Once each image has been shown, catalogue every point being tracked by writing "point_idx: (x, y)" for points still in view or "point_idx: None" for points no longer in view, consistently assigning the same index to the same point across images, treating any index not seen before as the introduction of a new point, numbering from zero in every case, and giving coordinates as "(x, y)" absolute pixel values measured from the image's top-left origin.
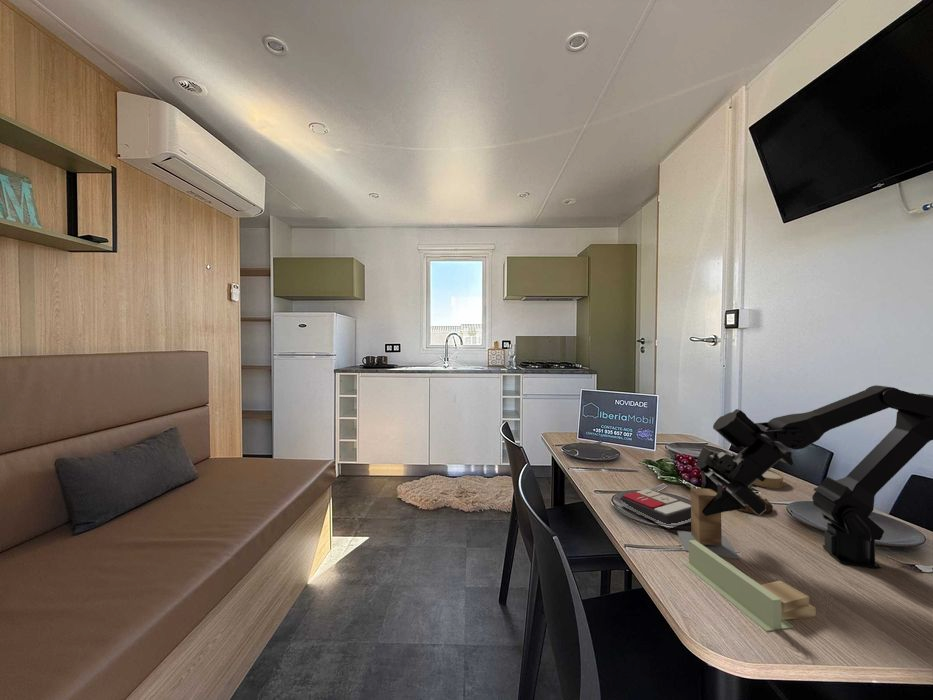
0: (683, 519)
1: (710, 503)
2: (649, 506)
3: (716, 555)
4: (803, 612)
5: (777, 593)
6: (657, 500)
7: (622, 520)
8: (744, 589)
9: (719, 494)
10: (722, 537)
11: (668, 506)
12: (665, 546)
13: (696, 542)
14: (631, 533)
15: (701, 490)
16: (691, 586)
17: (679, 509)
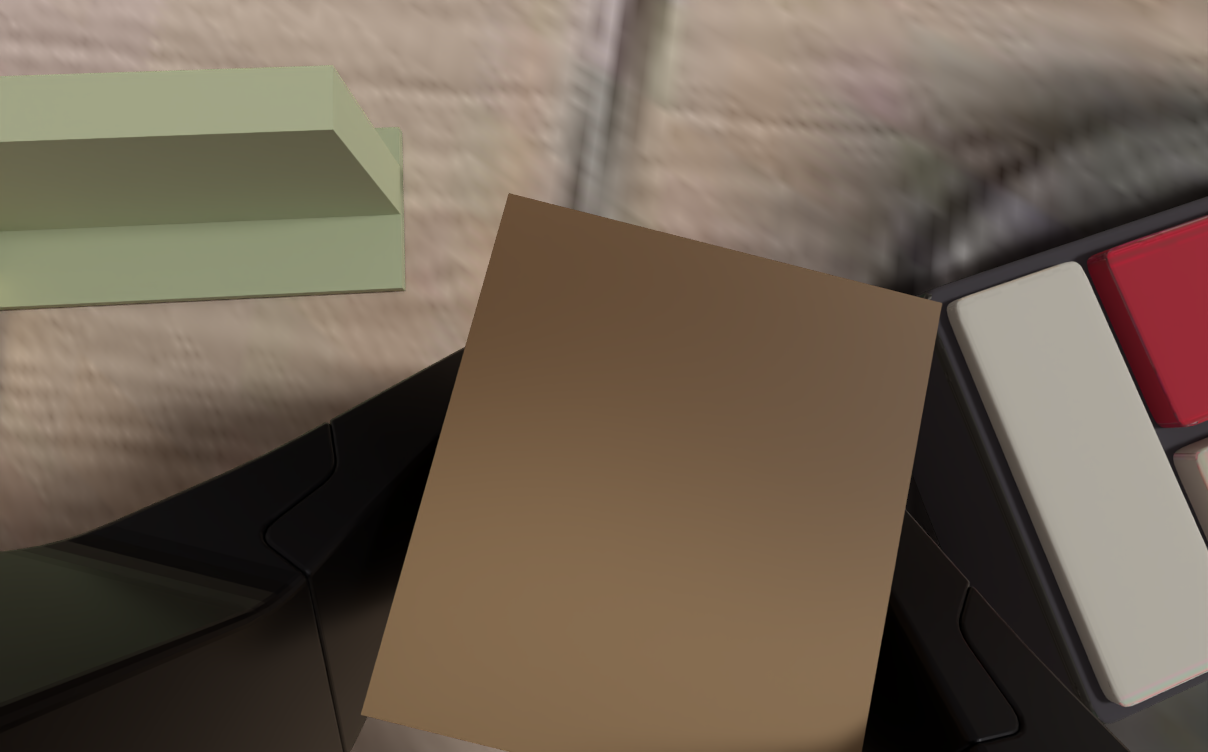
0: (953, 509)
1: (407, 404)
2: (1128, 243)
3: (60, 127)
4: None
5: None
6: None
7: (1019, 65)
8: None
9: (127, 569)
10: None
11: (1119, 430)
12: (628, 157)
13: (288, 110)
14: (822, 28)
15: (765, 464)
16: (200, 40)
17: (1038, 492)
